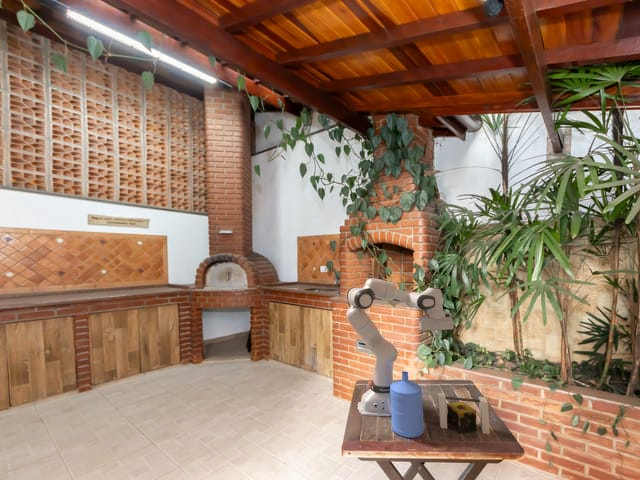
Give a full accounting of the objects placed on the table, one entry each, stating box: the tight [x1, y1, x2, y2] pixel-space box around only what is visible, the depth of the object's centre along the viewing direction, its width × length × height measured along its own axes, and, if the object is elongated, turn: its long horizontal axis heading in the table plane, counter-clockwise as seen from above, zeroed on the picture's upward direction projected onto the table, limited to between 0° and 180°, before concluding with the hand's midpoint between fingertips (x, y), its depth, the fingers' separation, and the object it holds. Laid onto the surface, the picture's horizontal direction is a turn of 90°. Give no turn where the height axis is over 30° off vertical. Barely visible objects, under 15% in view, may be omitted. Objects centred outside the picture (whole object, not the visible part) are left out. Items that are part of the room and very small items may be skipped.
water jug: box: [390, 370, 425, 439], centre depth 152 cm, size 16×16×28 cm
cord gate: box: [438, 392, 490, 435], centre depth 151 cm, size 22×5×15 cm, turn 73°
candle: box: [446, 401, 478, 434], centre depth 152 cm, size 10×10×10 cm
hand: (436, 337), depth 182 cm, fingers closed
